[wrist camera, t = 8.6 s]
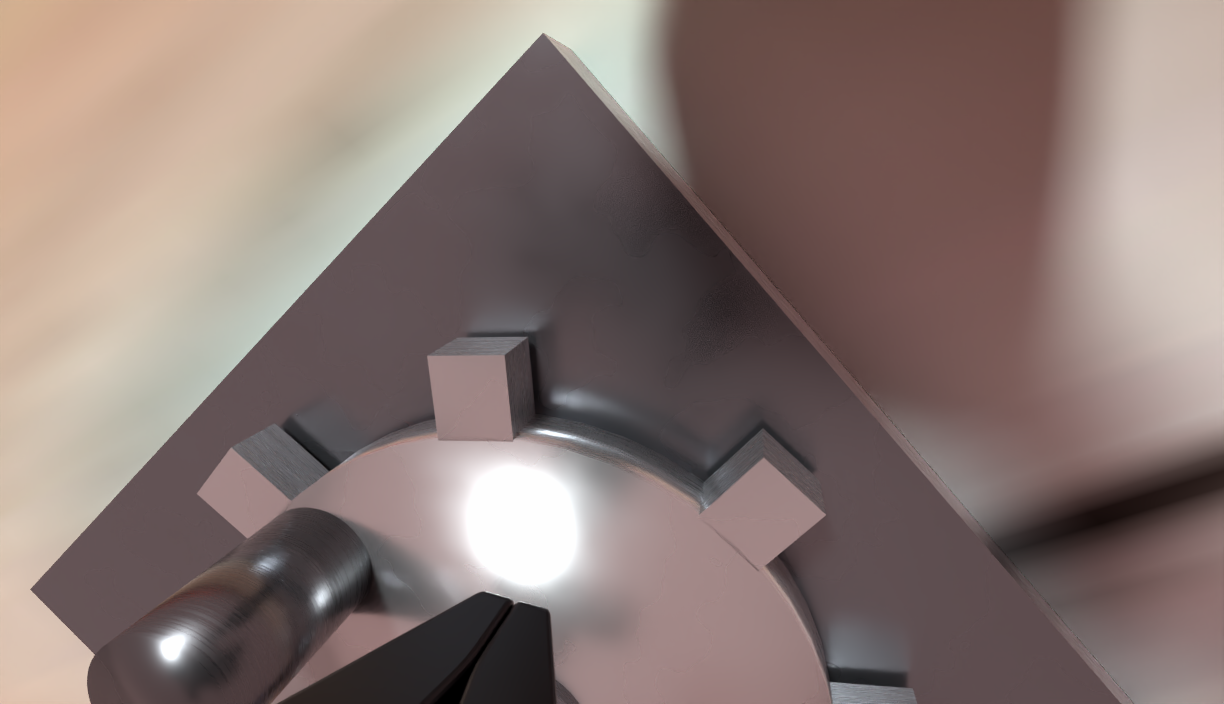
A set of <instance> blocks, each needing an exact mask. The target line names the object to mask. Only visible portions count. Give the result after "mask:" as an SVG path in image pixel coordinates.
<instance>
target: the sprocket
mask: <svg viewBox="0 0 1224 704" xmlns="http://www.w3.org/2000/svg"><path fill="white" fill-rule="evenodd" d="M427 359H428V366H429V374H430V382H431V389H432V397H433V405H434V413H435V419H433V420H428V421H424V422H421V423H418V424H415V425H412V426H409V427H407V428H404V429H401V430H398V431H395V432H392V433H390V434H388V435H386V436H384V437H382V438H380V439H378V440H377V441H375V442H373V443H371V444H369V445H367V446H365V447H363V448H361V449H360V450H358V451H357V452H356V453H354V454H353V455H351V456H350V457H349V458H347V459H346V460H345V461H343V462H342V463H341V464H339V465H338V466H336V467H335V468H334V469H332V470H331V471H328V470H327V469H326V468H325V467H324V466H323V465H322V464H321V463H319V462H318V461H317V460H316V459H315V458H314V457H313V456H312V455H310V454H309V453H308V452H307V451H306V450H305V449H304V448H303V447H302V446H300V445H299V444H298V443H297V442H296V441H295V440H294V439H293V438H291V437H290V436H289V435H288V434H287V433H286V432H285V431H284V430H283V429H281V428H280V427H279V426H278V425H277V424H276V423H274V424H273V425H271V426H269V427H267V428H265V429H264V430H262V431H260V432H258V433H256V434H255V435H253V436H251V437H249V438H247V439H245V440H244V441H242V442H240V443H238V444H236V445H235V446H233V447H231V448H230V450H229V451H228V452H227V454H226V455H225V456H224V458H223V459H222V460H221V462H220V463H219V464H218V466H217V467H216V468H215V470H214V471H213V472H212V474H211V475H210V476H209V478H208V479H207V481H206V482H205V483H204V485H203V486H202V487H201V489H200V490H199V491H198V493H197V494H198V495H199V496H200V497H201V498H202V499H203V500H204V501H206V502H207V503H208V504H209V505H210V506H211V507H212V508H213V509H215V510H216V511H217V512H218V513H219V514H220V515H221V516H222V517H224V518H225V519H226V520H227V521H228V522H229V523H230V524H232V525H233V526H234V527H235V528H236V529H237V530H238V531H239V532H241V533H242V534H243V535H244V536H245V537H246V538H247V539H246V540H245V541H244V542H242V543H241V544H239V545H238V546H237V547H235V548H234V549H233V550H231V551H230V552H229V553H227V554H226V555H225V556H223V557H222V558H221V559H219V560H218V561H217V562H215V563H214V564H213V565H211V566H210V567H209V568H207V569H206V570H205V571H203V572H202V573H201V574H199V575H198V576H197V577H195V578H194V579H193V580H191V581H190V582H189V583H187V584H186V585H185V586H183V587H182V588H181V589H179V590H178V591H177V592H175V593H174V594H173V595H171V596H170V597H169V598H167V599H166V600H165V601H163V602H162V603H161V604H159V605H158V606H157V607H155V608H154V609H153V610H151V611H150V612H149V613H147V614H146V615H145V616H143V617H142V618H141V619H139V620H138V621H137V622H135V623H134V624H133V625H131V626H130V627H129V628H127V629H126V630H124V631H123V632H122V633H120V634H119V635H118V636H116V637H115V638H114V639H112V640H111V641H110V642H108V643H107V644H106V645H104V646H103V647H102V648H101V649H100V650H99V651H98V652H97V653H96V654H95V656H94V658H93V659H92V661H91V664H90V666H89V671H88V677H87V686H88V694H89V698H90V702H91V704H277V703H278V702H280V701H282V700H284V699H286V698H288V697H289V696H291V695H293V694H295V693H297V692H298V691H300V690H302V689H304V688H306V687H307V686H309V685H311V684H313V683H315V682H317V681H318V680H320V679H322V678H324V677H326V676H327V675H329V674H331V673H333V672H335V671H336V670H338V669H340V668H342V667H344V666H346V665H347V664H349V663H351V662H353V661H355V660H356V659H358V658H360V657H362V656H364V655H365V654H367V653H369V652H371V651H373V650H375V649H376V648H378V647H380V646H382V645H384V644H385V643H387V642H389V641H391V640H393V639H394V638H396V637H398V636H400V635H402V634H404V633H405V632H407V631H409V630H411V629H413V628H414V627H416V626H418V625H420V624H422V623H423V622H425V621H427V620H429V619H431V618H433V617H434V616H436V615H438V614H440V613H442V612H443V611H445V610H447V609H449V608H451V607H452V606H454V605H456V604H458V603H460V602H462V601H463V600H465V599H467V598H469V597H471V596H472V595H474V594H476V593H478V592H481V591H486V592H490V593H493V594H497V595H500V596H504V597H507V598H510V599H512V600H513V602H514V605H515V604H516V603H518V602H525V603H528V604H532V605H536V606H539V607H543V608H546V609H548V610H549V611H550V614H551V625H552V638H553V652H554V665H555V679H556V692H557V704H917V701H916V698H915V694H914V691H913V688H901V687H888V686H875V685H862V684H850V683H837V682H830V679H829V674H828V669H827V665H826V660H825V656H824V651H823V647H822V642H821V639H820V636H819V634H818V631H817V629H816V626H815V623H814V621H813V618H812V615H811V613H810V610H809V608H808V605H807V603H806V601H805V600H804V598H803V596H802V594H801V592H800V590H799V589H798V587H797V585H796V583H795V581H794V580H793V578H792V576H791V574H790V572H789V571H788V569H787V568H786V566H785V565H784V564H783V562H782V561H781V560H780V558H779V557H778V556H777V555H779V554H780V553H781V552H782V551H783V550H785V549H786V548H787V547H788V546H789V545H791V544H792V543H793V542H794V541H795V540H797V539H798V538H799V537H800V536H801V535H803V534H804V533H805V532H806V531H808V530H809V529H810V528H811V527H812V526H814V525H815V524H816V523H817V522H818V521H820V520H821V519H822V518H823V517H824V516H826V511H825V506H824V501H823V496H822V491H821V486H820V481H819V480H818V479H817V478H816V477H815V476H814V475H813V474H812V473H811V472H810V471H809V470H808V469H806V468H805V467H804V466H803V465H802V464H801V463H800V462H799V461H798V460H797V459H796V458H795V457H793V456H792V455H791V454H790V453H789V452H788V451H787V450H786V449H785V448H784V447H783V446H782V445H780V444H779V443H778V442H777V441H776V440H775V439H774V438H773V437H772V436H771V435H770V434H769V433H767V432H766V431H765V430H764V429H762V430H760V431H759V432H758V433H757V434H756V435H755V436H754V437H753V438H752V439H751V440H750V441H748V442H747V443H746V444H745V445H744V446H743V447H742V448H741V449H740V450H739V451H738V452H736V453H735V454H734V455H733V456H732V457H731V458H730V459H729V460H728V461H727V462H726V463H724V464H723V465H722V466H721V467H720V468H719V469H718V470H717V471H716V472H715V473H714V474H712V475H711V476H710V477H709V478H708V479H707V480H706V481H705V482H704V481H703V480H701V479H700V478H699V477H697V476H696V475H694V474H692V473H691V472H689V471H688V470H686V469H684V468H683V467H681V466H680V465H678V464H676V463H675V462H673V461H672V460H670V459H668V458H667V457H665V456H664V455H662V454H660V453H658V452H655V451H653V450H651V449H649V448H647V447H645V446H643V445H640V444H638V443H636V442H634V441H632V440H630V439H628V438H626V437H623V436H621V435H618V434H615V433H612V432H608V431H605V430H602V429H599V428H596V427H593V426H590V425H587V424H584V423H581V422H576V421H571V420H566V419H561V418H556V417H551V416H546V415H540V414H535V405H534V394H533V384H532V373H531V362H530V351H529V340H528V337H471V338H456V339H455V340H453V341H451V342H450V343H448V344H446V345H445V346H443V347H441V348H440V349H438V350H436V351H435V352H433V353H431V354H430V355H428V356H427Z"/></svg>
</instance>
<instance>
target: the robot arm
mask: <svg viewBox="0 0 1224 704" xmlns="http://www.w3.org/2000/svg"><path fill="white" fill-rule="evenodd" d="M277 704H557V692H556V679H555V665H554V652H553V638H552V625H551V614H550V611H549V610H548V609H546V608H543V607H539V606H536V605H532V604H528V603H525V602H518V603H516V604H515V605H514V602H513V600H512V599H510V598H507V597H504V596H500V595H497V594H493V593H490V592H486V591H481V592H478V593H476V594H474V595H472V596H471V597H469V598H467V599H465V600H463V601H462V602H460V603H458V604H456V605H454V606H452V607H451V608H449V609H447V610H445V611H443V612H442V613H440V614H438V615H436V616H434V617H433V618H431V619H429V620H427V621H425V622H423V623H422V624H420V625H418V626H416V627H414V628H413V629H411V630H409V631H407V632H405V633H404V634H402V635H400V636H398V637H396V638H394V639H393V640H391V641H389V642H387V643H385V644H384V645H382V646H380V647H378V648H376V649H375V650H373V651H371V652H369V653H367V654H365V655H364V656H362V657H360V658H358V659H356V660H355V661H353V662H351V663H349V664H347V665H346V666H344V667H342V668H340V669H338V670H336V671H335V672H333V673H331V674H329V675H327V676H326V677H324V678H322V679H320V680H318V681H317V682H315V683H313V684H311V685H309V686H307V687H306V688H304V689H302V690H300V691H298V692H297V693H295V694H293V695H291V696H289V697H288V698H286V699H284V700H282V701H280V702H278V703H277Z"/></svg>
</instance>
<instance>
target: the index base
mask: <svg viewBox="0 0 1224 704" xmlns="http://www.w3.org/2000/svg"><path fill="white" fill-rule="evenodd" d="M471 337H528V340H529V351H530V362H531V373H532V384H533V394H534V405H535V414H540V415H546V416H551V417H556V418H561V419H566V420H571V421H576V422H581V423H584V424H587V425H590V426H593V427H596V428H599V429H602V430H605V431H608V432H612V433H615V434H618V435H621V436H623V437H626V438H628V439H630V440H632V441H634V442H636V443H638V444H640V445H643V446H645V447H647V448H649V449H651V450H653V451H655V452H658V453H660V454H662V455H664V456H665V457H667V458H668V459H670V460H672V461H673V462H675V463H676V464H678V465H680V466H681V467H683V468H684V469H686V470H688V471H689V472H691V473H692V474H694V475H696V476H697V477H699V478H700V479H701V480H703V481H704V482H705V481H706V480H707V479H708V478H709V477H710V476H711V475H712V474H714V473H715V472H716V471H717V470H718V469H719V468H720V467H721V466H722V465H723V464H724V463H726V462H727V461H728V460H729V459H730V458H731V457H732V456H733V455H734V454H735V453H736V452H738V451H739V450H740V449H741V448H742V447H743V446H744V445H745V444H746V443H747V442H748V441H750V440H751V439H752V438H753V437H754V436H755V435H756V434H757V433H758V432H759V431H760V430H762V429H764V430H765V431H766V432H767V433H769V434H770V435H771V436H772V437H773V438H774V439H775V440H776V441H777V442H778V443H779V444H780V445H782V446H783V447H784V448H785V449H786V450H787V451H788V452H789V453H790V454H791V455H792V456H793V457H795V458H796V459H797V460H798V461H799V462H800V463H801V464H802V465H803V466H804V467H805V468H806V469H808V470H809V471H810V472H811V473H812V474H813V475H814V476H815V477H816V478H817V479H818V480H819V481H820V486H821V491H822V496H823V501H824V506H825V511H826V516H824V517H823V518H822V519H821V520H820V521H818V522H817V523H816V524H815V525H814V526H812V527H811V528H810V529H809V530H808V531H806V532H805V533H804V534H803V535H801V536H800V537H799V538H798V539H797V540H795V541H794V542H793V543H792V544H791V545H789V546H788V547H787V548H786V549H785V550H783V551H782V552H781V553H780V554H779V555H777V556H778V557H779V558H780V560H781V561H782V562H783V564H784V565H785V566H786V568H787V569H788V571H789V572H790V574H791V576H792V578H793V580H794V581H795V583H796V585H797V587H798V589H799V590H800V592H801V594H802V596H803V598H804V600H805V601H806V603H807V605H808V608H809V610H810V613H811V615H812V618H813V621H814V623H815V626H816V629H817V631H818V634H819V636H820V639H821V642H822V647H823V651H824V656H825V660H826V665H827V669H828V674H829V679H830V682H837V683H850V684H862V685H875V686H888V687H901V688H913V691H914V694H915V698H916V701H917V704H1134V703H1133V702H1132V701H1131V700H1130V699H1129V697H1128V696H1127V695H1126V694H1125V693H1124V692H1123V690H1122V689H1121V688H1120V687H1119V686H1118V685H1117V683H1116V682H1115V681H1114V680H1113V679H1112V678H1111V676H1110V675H1109V674H1108V673H1107V672H1106V671H1105V669H1104V668H1103V667H1102V666H1101V665H1100V664H1099V662H1098V661H1097V660H1096V659H1095V658H1094V657H1093V656H1092V654H1091V653H1090V652H1089V651H1088V650H1087V649H1086V647H1085V646H1084V645H1083V644H1082V643H1081V642H1080V640H1079V639H1078V638H1077V637H1076V636H1075V635H1074V633H1073V632H1072V631H1071V630H1070V629H1069V628H1068V626H1067V625H1066V624H1065V623H1064V622H1063V621H1062V619H1061V618H1060V617H1059V616H1058V615H1057V614H1056V612H1055V611H1054V610H1053V609H1052V608H1051V607H1050V606H1049V604H1048V603H1047V602H1046V601H1045V600H1044V599H1043V597H1042V596H1041V595H1040V594H1039V593H1038V592H1037V590H1036V589H1035V588H1034V587H1033V586H1032V585H1031V583H1030V582H1029V581H1028V580H1027V579H1026V578H1025V576H1024V575H1023V574H1022V573H1021V572H1020V571H1019V569H1018V568H1017V567H1016V566H1015V565H1014V564H1013V563H1012V561H1011V560H1010V559H1009V558H1008V557H1007V556H1006V554H1005V553H1004V552H1003V551H1002V550H1001V549H1000V547H999V546H998V545H997V544H996V543H995V542H994V540H993V539H992V538H991V537H990V536H989V535H988V533H987V532H986V531H985V530H984V529H983V528H982V526H981V525H980V524H979V523H978V522H977V521H976V519H975V518H974V517H973V516H972V515H971V514H970V513H969V511H968V510H967V509H966V508H965V507H964V506H963V504H962V503H961V502H960V501H959V500H958V499H957V497H956V496H955V495H954V494H953V493H952V492H951V490H950V489H949V488H948V487H947V486H946V485H945V483H944V482H943V481H942V480H941V479H940V478H939V476H938V475H937V474H936V473H935V472H934V471H933V469H932V468H931V467H930V466H929V465H928V464H927V463H926V461H925V460H924V459H923V458H922V457H921V456H920V454H919V453H918V452H917V451H916V450H915V449H914V447H913V446H912V445H911V444H910V443H909V442H908V440H907V439H906V438H905V437H904V436H903V435H902V433H901V432H900V431H899V430H898V429H897V428H896V426H895V425H894V424H893V423H892V422H891V421H890V419H889V418H888V417H887V416H886V415H885V414H884V413H883V411H882V410H881V409H880V408H879V407H878V406H877V404H876V403H875V402H874V401H873V400H872V399H871V397H870V396H869V395H868V394H867V393H866V392H865V390H864V389H863V388H862V387H861V386H860V385H859V383H858V382H857V381H856V380H855V379H854V378H853V376H852V375H851V374H850V373H849V372H848V371H847V370H846V368H845V367H844V366H843V365H842V364H841V363H840V361H839V360H838V359H837V358H836V357H835V356H834V354H833V353H832V352H831V351H830V350H829V349H828V347H827V346H826V345H825V344H824V343H823V342H822V340H821V339H820V338H819V337H818V336H817V335H816V333H815V332H814V331H813V330H812V329H811V328H810V326H809V325H808V324H807V323H806V322H805V321H804V320H803V318H802V317H801V316H800V315H799V314H798V313H797V311H796V310H795V309H794V308H793V307H792V306H791V304H790V303H789V302H788V301H787V300H786V299H785V297H784V296H783V295H782V294H781V293H780V292H779V290H778V289H777V288H776V287H775V286H774V285H773V283H772V282H771V281H770V280H769V279H768V278H767V276H766V275H765V274H764V273H763V272H762V271H761V270H760V268H759V267H758V266H757V265H756V264H755V263H754V261H753V260H752V259H751V258H750V257H749V256H748V254H747V253H746V252H745V251H744V250H743V249H742V247H741V246H740V245H739V244H738V243H737V242H736V240H735V239H734V238H733V237H732V236H731V235H730V233H729V232H728V231H727V230H726V229H725V228H724V226H723V225H722V224H721V223H720V222H719V221H718V220H717V218H716V217H715V216H714V215H713V214H712V213H711V211H710V210H709V209H708V208H707V207H706V206H705V204H704V203H703V202H702V201H701V200H700V199H699V197H698V196H697V195H696V194H695V193H694V192H693V190H692V189H691V188H690V187H689V186H688V185H687V183H686V182H685V181H684V180H683V179H682V178H681V177H680V175H679V174H678V173H677V172H676V171H675V170H674V168H673V167H672V166H671V165H670V164H669V163H668V161H667V160H666V159H665V158H664V157H663V156H662V154H661V153H660V152H659V151H658V150H657V149H656V147H655V146H654V145H653V144H652V143H651V142H650V140H649V139H648V138H647V137H646V136H645V135H644V133H643V132H642V131H641V130H640V129H639V128H638V127H637V125H636V124H635V123H634V122H633V121H632V120H631V118H630V117H629V116H628V115H627V114H626V113H625V111H624V110H623V109H622V108H621V107H620V106H619V104H618V103H617V102H616V101H615V100H614V99H613V97H612V96H611V95H610V94H609V93H608V92H607V90H606V89H605V88H604V87H603V86H602V85H601V83H600V82H599V81H598V80H597V79H596V78H595V77H594V75H593V74H592V73H591V72H590V71H589V70H588V68H587V67H586V66H585V65H584V64H583V63H582V61H581V60H580V59H579V58H578V57H577V56H576V54H575V53H574V52H573V51H572V50H571V49H570V48H568V47H566V46H564V45H563V44H561V43H559V42H558V41H556V40H554V39H553V38H551V37H549V36H548V35H546V34H544V33H543V34H542V35H541V36H540V37H539V38H538V39H537V40H536V41H535V42H534V43H533V44H532V46H531V47H530V48H529V49H528V50H527V51H526V52H525V53H524V54H523V55H522V56H521V57H520V59H519V60H518V61H517V62H516V63H515V64H514V65H513V66H512V67H511V68H510V69H509V70H508V72H507V73H506V74H505V75H504V76H503V77H502V78H501V79H500V80H499V81H498V82H497V84H496V85H495V86H494V87H493V88H492V89H491V90H490V91H489V92H488V93H487V94H486V95H485V97H484V98H483V99H482V100H481V101H480V102H479V103H478V104H477V105H476V106H475V107H474V108H473V110H472V111H471V112H470V113H469V114H468V115H467V116H466V117H465V118H464V119H463V120H462V121H461V123H460V124H459V125H458V126H457V127H456V128H455V129H454V130H453V131H452V132H451V133H450V135H449V136H448V137H447V138H446V139H445V140H444V141H443V142H442V143H441V144H440V145H439V146H438V148H437V149H436V150H435V151H434V152H433V153H432V154H431V155H430V156H429V157H428V158H427V159H426V161H425V162H424V163H423V164H422V165H421V166H420V167H419V168H418V169H417V170H416V171H415V172H414V174H413V175H412V176H411V177H410V178H409V179H408V180H407V181H406V182H405V183H404V184H403V186H402V187H401V188H400V189H399V190H398V191H397V192H396V193H395V194H394V195H393V196H392V197H391V199H390V200H389V201H388V202H387V203H386V204H385V205H384V206H383V207H382V208H381V209H380V210H379V212H378V213H377V214H376V215H375V216H374V217H373V218H372V219H371V220H370V221H369V222H368V224H367V225H366V226H365V227H364V228H363V229H362V230H361V231H360V232H359V233H358V234H357V235H356V237H355V238H354V239H353V240H352V241H351V242H350V243H349V244H348V245H347V246H346V247H345V248H344V250H343V251H342V252H341V253H340V254H339V255H338V256H337V257H336V258H335V259H334V260H333V261H332V263H331V264H330V265H329V266H328V267H327V268H326V269H325V270H324V271H323V272H322V273H321V275H320V276H319V277H318V278H317V279H316V280H315V281H314V282H313V283H312V284H311V285H310V286H309V288H308V289H307V290H306V291H305V292H304V293H303V294H302V295H301V296H300V297H299V298H298V299H297V301H296V302H295V303H294V304H293V305H292V306H291V307H290V308H289V309H288V310H287V311H286V313H285V314H284V315H283V316H282V317H281V318H280V319H279V320H278V321H277V322H276V323H275V324H274V326H273V327H272V328H271V329H270V330H269V331H268V332H267V333H266V334H265V335H264V336H263V337H262V339H261V340H260V341H259V342H258V343H257V344H256V345H255V346H254V347H253V348H252V349H251V350H250V352H249V353H248V354H247V355H246V356H245V357H244V358H243V359H242V360H241V361H240V362H239V364H238V365H237V366H236V367H235V368H234V369H233V370H232V371H231V372H230V373H229V374H228V375H227V377H226V378H225V379H224V380H223V381H222V382H221V383H220V384H219V385H218V386H217V387H216V388H215V390H214V391H213V392H212V393H211V394H210V395H209V396H208V397H207V398H206V399H205V400H204V401H203V403H202V404H201V405H200V406H199V407H198V408H197V409H196V410H195V411H194V412H193V413H192V415H191V416H190V417H189V418H188V419H187V420H186V421H185V422H184V423H183V424H182V425H181V426H180V428H179V429H178V430H177V431H176V432H175V433H174V434H173V435H172V436H171V437H170V438H169V439H168V441H167V442H166V443H165V444H164V445H163V446H162V447H161V448H160V449H159V450H158V451H157V453H156V454H155V455H154V456H153V457H152V458H151V459H150V460H149V461H148V462H147V463H146V464H145V466H144V467H143V468H142V469H141V470H140V471H139V472H138V473H137V474H136V475H135V476H134V477H133V479H132V480H131V481H130V482H129V483H128V484H127V485H126V486H125V487H124V488H123V489H122V490H121V492H120V493H119V494H118V495H117V496H116V497H115V498H114V499H113V500H112V501H111V502H110V504H109V505H108V506H107V507H106V508H105V509H104V510H103V511H102V512H101V513H100V514H99V515H98V517H97V518H96V519H95V520H94V521H93V522H92V523H91V524H90V525H89V526H88V527H87V528H86V530H85V531H84V532H83V533H82V534H81V535H80V536H79V537H78V538H77V539H76V540H75V542H74V543H73V544H72V545H71V546H70V547H69V548H68V549H67V550H66V551H65V552H64V553H63V555H62V556H61V557H60V558H59V559H58V560H57V561H56V562H55V563H54V564H53V565H52V566H51V568H50V569H49V570H48V571H47V572H46V573H45V574H44V575H43V576H42V577H41V578H40V579H39V581H38V582H37V583H36V584H35V585H34V586H33V587H32V588H31V589H30V590H31V591H32V592H33V593H34V594H35V595H36V596H37V597H38V598H39V599H40V600H41V601H42V602H43V603H44V604H45V605H46V606H47V607H48V608H49V609H50V610H51V611H52V612H53V613H54V614H55V615H56V616H57V617H58V618H59V619H60V620H61V621H62V622H63V623H64V624H65V625H66V626H67V627H68V628H69V629H70V630H71V631H72V632H73V633H74V634H75V635H76V636H77V637H78V638H79V639H80V640H81V641H82V642H83V643H84V644H85V645H86V646H87V647H88V648H89V649H90V650H91V651H92V652H93V653H94V654H96V653H97V652H98V651H99V650H100V649H101V648H102V647H103V646H104V645H106V644H107V643H108V642H110V641H111V640H112V639H114V638H115V637H116V636H118V635H119V634H120V633H122V632H123V631H124V630H126V629H127V628H129V627H130V626H131V625H133V624H134V623H135V622H137V621H138V620H139V619H141V618H142V617H143V616H145V615H146V614H147V613H149V612H150V611H151V610H153V609H154V608H155V607H157V606H158V605H159V604H161V603H162V602H163V601H165V600H166V599H167V598H169V597H170V596H171V595H173V594H174V593H175V592H177V591H178V590H179V589H181V588H182V587H183V586H185V585H186V584H187V583H189V582H190V581H191V580H193V579H194V578H195V577H197V576H198V575H199V574H201V573H202V572H203V571H205V570H206V569H207V568H209V567H210V566H211V565H213V564H214V563H215V562H217V561H218V560H219V559H221V558H222V557H223V556H225V555H226V554H227V553H229V552H230V551H231V550H233V549H234V548H235V547H237V546H238V545H239V544H241V543H242V542H244V541H245V540H246V539H247V538H246V537H245V536H244V535H243V534H242V533H241V532H239V531H238V530H237V529H236V528H235V527H234V526H233V525H232V524H230V523H229V522H228V521H227V520H226V519H225V518H224V517H222V516H221V515H220V514H219V513H218V512H217V511H216V510H215V509H213V508H212V507H211V506H210V505H209V504H208V503H207V502H206V501H204V500H203V499H202V498H201V497H200V496H199V495H198V494H197V493H198V491H199V490H200V489H201V487H202V486H203V485H204V483H205V482H206V481H207V479H208V478H209V476H210V475H211V474H212V472H213V471H214V470H215V468H216V467H217V466H218V464H219V463H220V462H221V460H222V459H223V458H224V456H225V455H226V454H227V452H228V451H229V450H230V448H231V447H233V446H235V445H236V444H238V443H240V442H242V441H244V440H245V439H247V438H249V437H251V436H253V435H255V434H256V433H258V432H260V431H262V430H264V429H265V428H267V427H269V426H271V425H273V424H274V423H276V424H277V425H278V426H279V427H280V428H281V429H283V430H284V431H285V432H286V433H287V434H288V435H289V436H290V437H291V438H293V439H294V440H295V441H296V442H297V443H298V444H299V445H300V446H302V447H303V448H304V449H305V450H306V451H307V452H308V453H309V454H310V455H312V456H313V457H314V458H315V459H316V460H317V461H318V462H319V463H321V464H322V465H323V466H324V467H325V468H326V469H327V470H328V471H331V470H332V469H334V468H335V467H336V466H338V465H339V464H341V463H342V462H343V461H345V460H346V459H347V458H349V457H350V456H351V455H353V454H354V453H356V452H357V451H358V450H360V449H361V448H363V447H365V446H367V445H369V444H371V443H373V442H375V441H377V440H378V439H380V438H382V437H384V436H386V435H388V434H390V433H392V432H395V431H398V430H401V429H404V428H407V427H409V426H412V425H415V424H418V423H421V422H424V421H428V420H433V419H435V413H434V405H433V397H432V389H431V382H430V374H429V366H428V359H427V356H428V355H430V354H431V353H433V352H435V351H436V350H438V349H440V348H441V347H443V346H445V345H446V344H448V343H450V342H451V341H453V340H455V339H456V338H471Z"/></svg>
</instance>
